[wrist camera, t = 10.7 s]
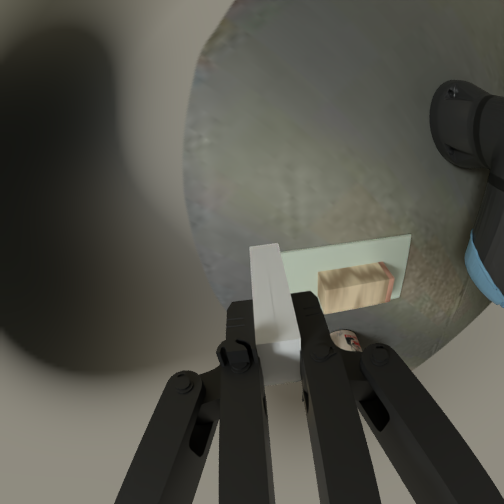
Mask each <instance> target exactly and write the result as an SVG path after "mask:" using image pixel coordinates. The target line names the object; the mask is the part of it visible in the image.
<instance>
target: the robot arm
mask: <svg viewBox="0 0 504 504" xmlns="http://www.w3.org/2000/svg"><path fill="white" fill-rule="evenodd" d="M430 128H431V133H432V137H433V140H434V142H435V145H436V147H437V149H438V150H439V152H440V153H441V155H442V156H443V157H444V158H445V159H446V160H448V161H449V162H451V163H453V164H455V165H457V166H460V167H463V168H488V169H490V174H489V179H488V182H487V186H486V190H485V193H484V197H483V201H482V204H481V207H480V210H479V214H478V217H477V220H476V223H475V226H474V228H473V229H472V230H471V234H470V240H469V243H468V246H467V249H466V252H465V265H466V268H467V271H468V274H469V276H470V277H471V279H472V281H473V282H474V283H475V285H476V286H477V287H478V288H479V290H480V291H481V292H482V293H483V294H484V295H485V296H486V297H487V298H488V299H489V300H491V301H492V302H493V303H495V304H496V305H499V304H500V306H501V307H502V308H504V97H501V96H495V95H491V94H489V93H488V92H486V91H484V90H483V89H481V88H479V87H477V86H475V85H474V84H472V83H470V82H467V81H462V80H450V81H447V82H445V83H443V84H442V85H441V86H440V87H439V88H438V89H437V91H436V92H435V94H434V96H433V99H432V102H431V107H430ZM249 248H250V264H251V279H252V295H253V299H252V300H245V301H236V302H232V303H231V304H230V306H229V308H228V310H227V324H226V326H227V328H226V340H225V341H223V342H222V343H221V344H220V345H219V346H218V348H217V351H216V354H217V357H218V359H219V362H220V365H219V366H218V367H217V368H215V369H213V370H211V371H209V372H206V373H203V374H200V375H198V374H197V373H195V372H193V371H181V372H178V373H176V374H174V375H173V376H171V378H170V379H169V380H168V382H167V384H166V387H165V389H164V391H163V393H162V395H161V397H160V399H159V402H158V404H157V406H156V408H155V411H154V413H153V415H152V417H151V419H150V422H149V424H148V426H147V428H146V431H145V433H144V435H143V437H142V440H141V442H140V444H139V447H138V449H137V451H136V453H135V456H134V458H133V460H132V463H131V465H130V467H129V470H128V472H127V475H126V477H125V479H124V481H123V484H122V486H121V489H120V491H119V493H118V496H117V498H116V501H115V503H114V504H192V502H193V499H194V496H195V493H196V490H197V487H198V483H199V480H200V478H201V474H202V471H203V468H204V465H205V462H206V459H207V455H208V453H209V449H210V446H211V443H212V440H213V437H214V434H215V430H216V426H217V424H218V421H219V419H220V427H219V504H275V495H274V484H273V472H272V460H271V449H270V438H269V426H268V415H267V403H266V396H265V390H264V386H269V385H277V384H284V383H291V382H298V381H301V380H302V386H303V396H302V401H304V404H305V410H306V416H307V422H308V428H309V433H310V440H311V446H312V452H313V458H314V464H315V471H316V478H317V484H318V491H319V498H320V504H381V500H380V496H379V491H378V486H377V482H376V478H375V474H374V469H373V465H372V461H371V457H370V454H369V449H368V446H367V442H366V438H365V434H364V431H363V427H362V423H361V420H360V416H359V413H358V409H359V411H360V412H361V414H362V416H363V417H364V419H365V421H366V422H367V424H368V425H369V427H370V429H371V430H372V432H373V434H374V435H375V437H376V438H377V440H378V442H379V443H380V445H381V447H382V448H383V450H384V451H385V453H386V455H387V456H388V458H389V460H390V461H391V463H392V465H393V466H394V468H395V469H396V471H397V473H398V474H399V476H400V477H401V479H402V481H403V483H404V484H405V486H406V488H407V489H408V491H409V492H410V494H411V496H412V497H413V499H414V501H415V502H416V504H504V499H503V498H502V496H501V494H500V492H499V491H498V489H497V487H496V486H495V484H494V483H493V481H492V480H491V478H490V477H489V475H488V474H487V472H486V471H485V469H484V468H483V466H482V465H481V463H480V462H479V460H478V459H477V458H476V456H475V455H474V453H473V452H472V450H471V449H470V448H469V446H468V445H467V443H466V442H465V440H464V439H463V438H462V436H461V435H460V434H459V432H458V431H457V430H456V428H455V427H454V425H453V424H452V423H451V422H450V420H449V419H448V417H447V416H446V415H445V413H444V412H443V411H442V409H441V408H440V407H439V406H438V404H437V403H436V402H435V400H434V399H433V398H432V396H431V395H430V394H429V393H428V391H427V390H426V389H425V388H424V386H423V385H422V384H421V382H420V381H419V380H418V379H417V377H415V375H414V374H413V373H412V371H411V370H410V369H409V368H408V366H407V365H406V364H405V363H404V361H403V360H402V359H401V358H400V357H399V355H398V354H397V353H396V352H395V351H394V350H393V349H392V348H391V347H390V346H388V345H385V344H380V343H376V344H372V345H369V346H368V347H367V348H365V350H364V351H363V352H358V351H348V350H344V349H341V348H339V347H338V346H336V344H335V343H334V342H333V341H332V339H331V336H330V333H329V330H328V327H327V324H326V321H325V318H324V315H323V312H322V309H321V307H320V303H319V300H318V297H317V296H316V295H315V294H314V293H312V292H311V291H305V292H298V293H291V294H290V290H289V286H288V282H287V277H286V273H285V269H284V265H283V261H282V257H281V253H280V249H279V245H278V243H274V244H267V245H259V246H252V247H249ZM357 408H358V409H357Z"/></svg>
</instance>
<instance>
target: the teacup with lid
mask: <svg viewBox="0 0 504 504" xmlns="http://www.w3.org/2000/svg"><path fill="white" fill-rule="evenodd" d="M330 336H331V339H332V341H333V342H334V343H335V344H336V346H338V347H339V348H341V349H344V350H348V351H358V352H362V349H361V347H360V344H359V342H358V339H357V337H356V335H355V334H354V333H353V332H352V331H349V330H339V331H335V332H333V333H330Z"/></svg>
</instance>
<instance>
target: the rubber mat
mask: <svg viewBox="0 0 504 504" xmlns="http://www.w3.org/2000/svg"><path fill="white" fill-rule="evenodd" d="M410 241H411V234H406V235H399V236H392V237H385V238H378V239H371V240H364V241H357V242H349V243H342V244H335V245H328V246H321V247H313V248H306V249H299V250H292V251H284V252H280V253H281V257H282V261H283V265H284V269H285V273H286V277H287V282H288V286H289V290H290V294H291V293H298V292H305V291H311V292H312V293H314V294H315V295H316V296H317V297H318V272H320V271H327V270H333V269H340V268H346V267H352V266H358V265H364V264H371V263H376V262H382V261H383V263H384V264H385V265H386V267H387V268H388V269H389V271H390V272H391V274H392V275H393V276H394V278H395V279H394V284H393V289H392V294H391V298H390V299H394V298H398V297H400V292H401V288H402V284H403V279H404V274H405V269H406V264H407V259H408V253H409V248H410ZM318 300H319V298H318ZM319 303H320V301H319ZM320 307H321V309H322V306H321V304H320ZM322 312H323V309H322Z"/></svg>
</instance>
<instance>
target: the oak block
mask: <svg viewBox="0 0 504 504" xmlns="http://www.w3.org/2000/svg"><path fill="white" fill-rule="evenodd" d="M394 279H395V278H394V276H393V275H392V274H391V272H390V271H389V269H388V268H387V267H386V265H385V264H384V263H383V261H382V262H376V263H371V264H364V265H358V266H352V267H346V268H340V269H333V270H327V271H320V272H318V298H319V301H320V304H321V306H322V309H323V312H324V314H329V313H335V312H340V311H346V310H351V309H356V308H361V307H366V306H371V305H376V304H380V303H385V302H389V301H390V298H391V294H392V289H393V284H394Z"/></svg>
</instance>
